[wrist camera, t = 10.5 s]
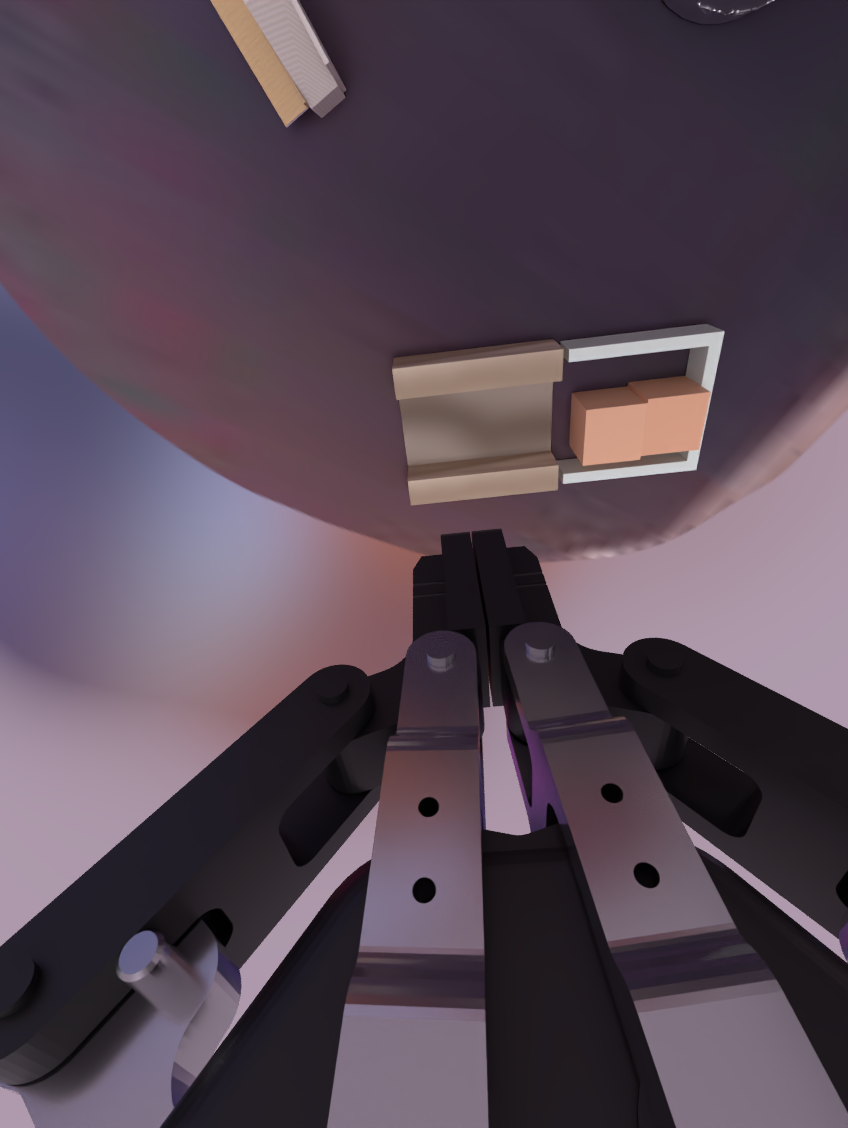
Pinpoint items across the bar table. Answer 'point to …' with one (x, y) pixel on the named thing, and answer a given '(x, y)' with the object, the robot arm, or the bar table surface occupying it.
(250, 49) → the architectural model
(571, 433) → the pink cube
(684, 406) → the salmon cube
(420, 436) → the slot track
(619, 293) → the bar table surface
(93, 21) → the bar table surface
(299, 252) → the bar table surface
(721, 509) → the bar table surface
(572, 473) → the grey u-shaped frame
